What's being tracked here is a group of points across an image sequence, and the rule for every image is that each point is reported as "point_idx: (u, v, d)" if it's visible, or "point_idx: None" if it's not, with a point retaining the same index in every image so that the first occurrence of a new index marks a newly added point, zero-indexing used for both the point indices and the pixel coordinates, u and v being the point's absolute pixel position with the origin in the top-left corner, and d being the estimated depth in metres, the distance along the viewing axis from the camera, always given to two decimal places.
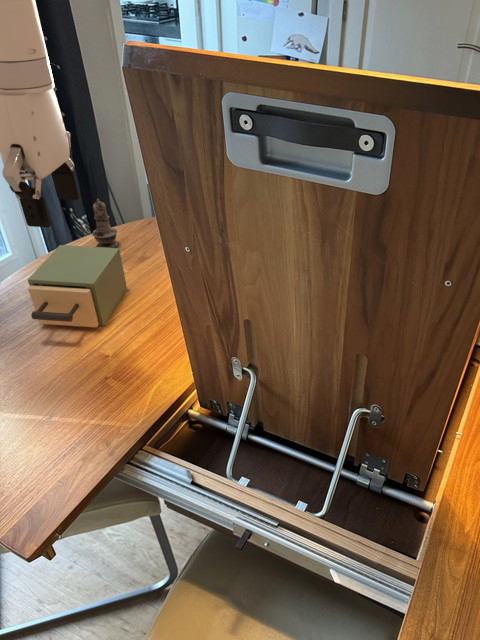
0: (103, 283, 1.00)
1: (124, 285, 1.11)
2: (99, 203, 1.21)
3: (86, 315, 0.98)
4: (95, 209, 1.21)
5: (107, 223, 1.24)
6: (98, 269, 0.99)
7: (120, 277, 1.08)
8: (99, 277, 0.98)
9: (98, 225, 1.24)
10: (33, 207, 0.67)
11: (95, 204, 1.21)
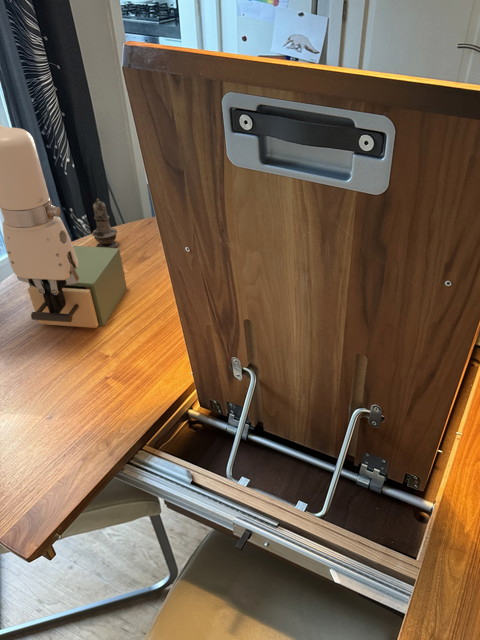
0: (103, 283, 1.00)
1: (124, 285, 1.11)
2: (99, 203, 1.21)
3: (86, 315, 0.98)
4: (95, 209, 1.21)
5: (107, 223, 1.24)
6: (98, 269, 0.99)
7: (120, 277, 1.08)
8: (99, 277, 0.98)
9: (98, 225, 1.24)
10: None
11: (95, 204, 1.21)
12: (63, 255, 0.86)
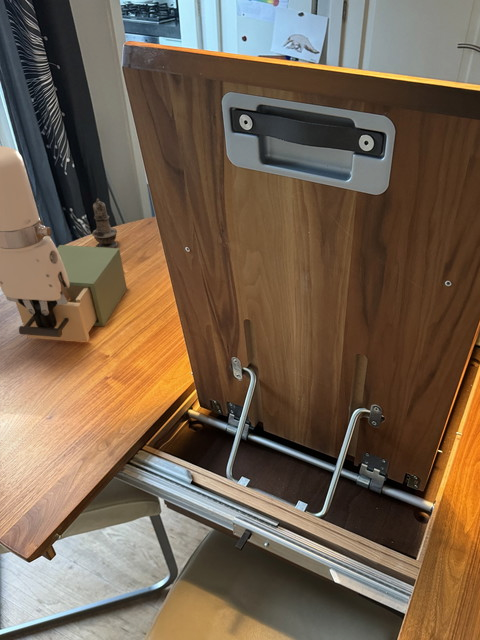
0: (103, 283, 1.00)
1: (124, 285, 1.11)
2: (99, 203, 1.21)
3: (76, 329, 0.94)
4: (95, 209, 1.21)
5: (107, 223, 1.24)
6: (98, 269, 0.99)
7: (120, 277, 1.08)
8: (99, 277, 0.98)
9: (98, 225, 1.24)
10: None
11: (95, 204, 1.21)
12: (53, 276, 0.83)
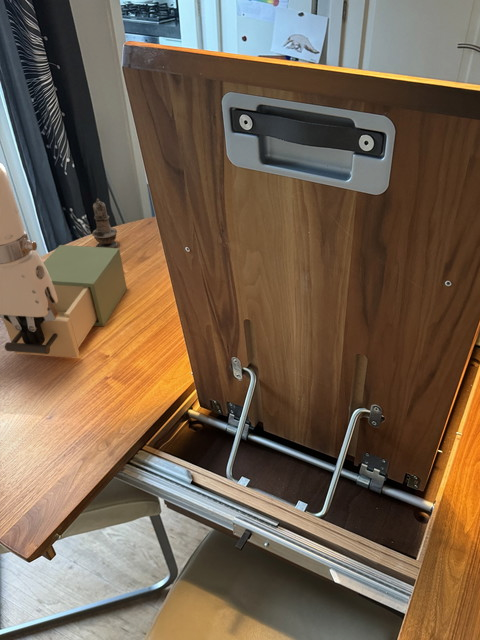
0: (103, 283, 1.00)
1: (124, 285, 1.11)
2: (99, 203, 1.21)
3: (65, 345, 0.90)
4: (95, 209, 1.21)
5: (107, 223, 1.24)
6: (98, 269, 0.99)
7: (120, 277, 1.08)
8: (99, 277, 0.98)
9: (98, 225, 1.24)
10: None
11: (95, 204, 1.21)
12: (40, 292, 0.80)
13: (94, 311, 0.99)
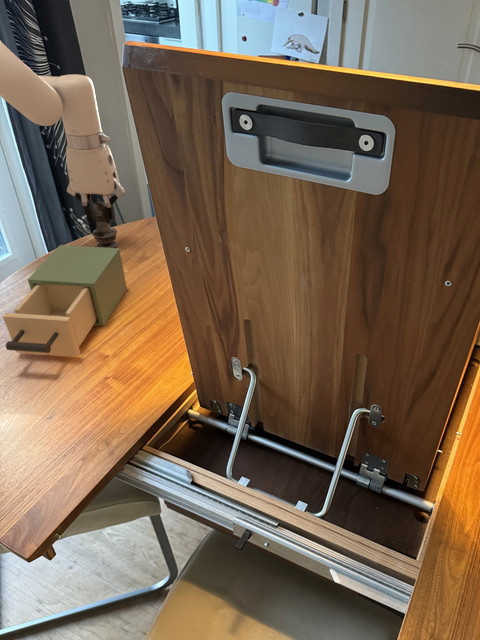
0: (103, 283, 1.00)
1: (124, 285, 1.11)
2: (99, 203, 1.21)
3: (66, 344, 0.91)
4: (95, 209, 1.21)
5: (107, 223, 1.24)
6: (98, 269, 0.99)
7: (120, 277, 1.08)
8: (99, 277, 0.98)
9: (98, 225, 1.24)
10: (86, 208, 1.22)
11: (95, 204, 1.21)
12: (110, 173, 1.15)
13: (94, 310, 1.00)
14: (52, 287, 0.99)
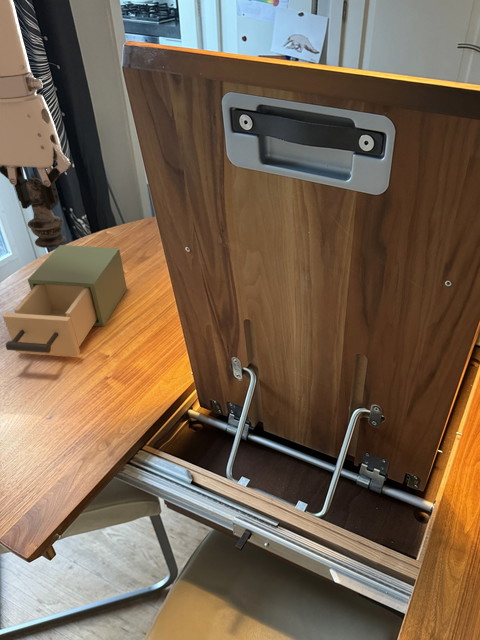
0: (103, 283, 1.00)
1: (124, 285, 1.11)
2: (34, 180, 0.85)
3: (66, 344, 0.91)
4: (29, 189, 0.86)
5: None
6: (98, 269, 0.99)
7: (120, 277, 1.08)
8: (99, 277, 0.98)
9: (35, 212, 0.88)
10: (16, 189, 0.87)
11: (29, 182, 0.85)
12: (46, 136, 0.80)
13: (94, 310, 1.00)
14: (52, 287, 0.99)
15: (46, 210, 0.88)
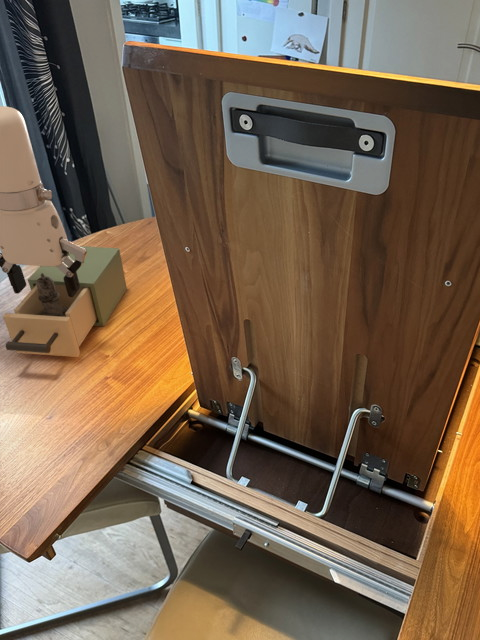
0: (103, 283, 1.00)
1: (124, 285, 1.11)
2: (44, 279, 0.89)
3: (66, 344, 0.91)
4: (39, 287, 0.89)
5: (57, 304, 0.92)
6: (98, 269, 0.99)
7: (120, 277, 1.08)
8: (99, 277, 0.98)
9: (44, 307, 0.92)
10: (9, 275, 0.89)
11: (39, 281, 0.89)
12: (54, 240, 0.83)
13: (94, 310, 1.00)
14: None
15: (55, 305, 0.92)
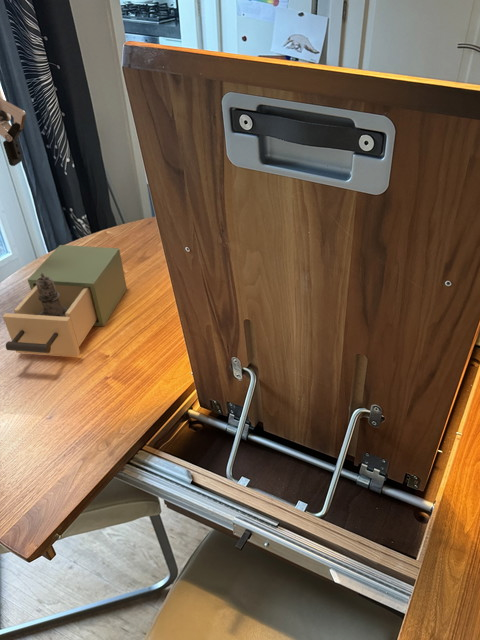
0: (103, 283, 1.00)
1: (124, 285, 1.11)
2: (44, 279, 0.89)
3: (66, 344, 0.91)
4: (39, 287, 0.89)
5: (57, 304, 0.92)
6: (98, 269, 0.99)
7: (120, 277, 1.08)
8: (99, 277, 0.98)
9: (44, 307, 0.92)
10: None
11: (39, 281, 0.89)
12: None
13: (94, 310, 1.00)
14: None
15: (55, 305, 0.92)
